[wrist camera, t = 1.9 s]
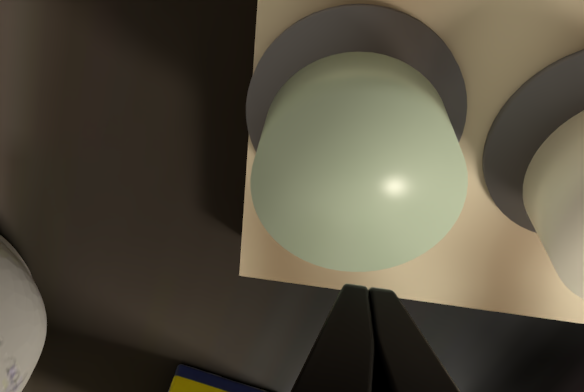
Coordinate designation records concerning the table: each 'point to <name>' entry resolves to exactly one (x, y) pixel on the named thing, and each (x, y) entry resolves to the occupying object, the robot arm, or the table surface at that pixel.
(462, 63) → the panel
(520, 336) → the table surface
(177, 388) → the supplement box
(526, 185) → the cream button
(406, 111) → the sage button
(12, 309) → the teacup
